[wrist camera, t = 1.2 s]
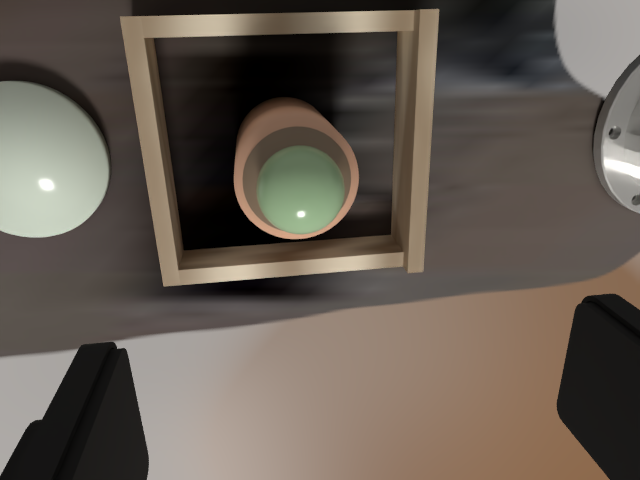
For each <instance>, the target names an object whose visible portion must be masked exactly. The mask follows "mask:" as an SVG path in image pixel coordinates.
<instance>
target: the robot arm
mask: <svg viewBox="0 0 640 480" xmlns="http://www.w3.org/2000/svg"><path fill="white" fill-rule="evenodd" d="M593 155H594V162H595V169H596V172H597V174H598V177H599V180H600V182H601V184H602V186H603V187H604V189H605V190H606V192H607V193H608V194H609V195H610V196H611V197H612V198H613V199H614V200H615V201H616V202H617V203H619V204H620V205H622V206H624V207H626V208H628V209H630V210H632V211H635V212H637V213H640V55H639V56H638V57H637V58H636V59H635V60H634V61H633V62H632V63H631V64H629V66H628V67H627V68H626V69H625V71H624V72H623V73H622V74H621V76H620V77H619V78H618V79H617V81H616V82H615V84H614V86H613V87H612V89H611V91H610V92H609V94H608V96H607V97H606V99H605V102H604V104H603V107H602V109H601V112H600V114H599V117H598V121H597V125H596V129H595V134H594V148H593ZM557 411H558V414H559V417H560V419H561V420H562V422H563V423H564V424H565V425H566V427H567V428H568V429H569V430H570V431H571V433H572V434H573V435H574V436H575V438H576V439H577V440H578V441H579V442H580V444H581V445H582V446H583V447H584V449H585V450H586V451H587V452H588V453H589V454H590V456H591V457H592V458H593V459H594V461H595V462H596V463H597V464H598V466H599V467H600V468H601V469H602V470H603V471H604V473H605V474H606V475H607V477H608V478H609V479H610V480H640V310H639V309H637V308H636V307H634V306H633V305H632V304H630V303H629V302H627V301H626V300H625V299H623V298H622V297H620V296H619V295H616V294H603V295H592V296H587V297H585V298H584V299H583V301H582V303H581V304H578V305H577V307H576V309H575V313H574V318H573V323H572V328H571V333H570V338H569V343H568V348H567V353H566V358H565V364H564V369H563V374H562V379H561V384H560V389H559V394H558V399H557ZM148 467H149V457H148V450H147V446H146V441H145V436H144V431H143V426H142V422H141V416H140V411H139V407H138V402H137V397H136V392H135V387H134V383H133V377H132V372H131V368H130V363H129V358H128V354H127V351H126V349H125V348H122V349H117V346H116V344H115V343H114V342H105V343H94V344H84V345H81V347H80V348H79V350H78V351H77V354H76V355H75V357H74V359H73V361H72V363H71V365H70V367H69V369H68V371H67V373H66V375H65V377H64V378H63V380H62V383H61V384H60V386H59V388H58V390H57V392H56V394H55V396H54V398H53V400H52V401H51V403H50V405H49V408H48V409H47V411H46V413H45V415H44V417H43V419H42V420H35V421H34V422H32V423H30V425H29V426H28V427H27V429H26V430H25V432H24V434H23V436H22V437H21V439H20V441H19V443H18V445H17V447H16V448H15V450H14V452H13V454H12V456H11V457H10V459H9V461H8V463H7V465H6V467H5V469H4V470H3V472H2V474H1V476H0V480H147V475H148Z"/></svg>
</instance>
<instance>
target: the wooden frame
mask: <svg viewBox="0 0 640 480" xmlns="http://www.w3.org/2000/svg"><path fill="white" fill-rule="evenodd" d="M438 19H439V9H420V10H401V11H355V12H310V13H264V14H219V15H173V16H128V17H120V21H121V27H122V33H123V39H124V45H125V51H126V58H127V64H128V70H129V76H130V82H131V88H132V94H133V101H134V107H135V113H136V119H137V125H138V131H139V138H140V144H141V150H142V156H143V162H144V168H145V175H146V181H147V187H148V193H149V199H150V205H151V211H152V218H153V224H154V230H155V236H156V242H157V248H158V255H159V261H160V267H161V273H162V279H163V285H164V286H175V285H187V284H199V283H211V282H223V281H234V280H246V279H258V278H270V277H282V276H294V275H306V274H318V273H329V272H341V271H353V270H365V269H377V268H389V267H401V266H403V267H404V268H405V270H406V271H407V273H415V272H423V266H424V249H425V233H426V216H427V200H428V184H429V167H430V151H431V134H432V118H433V101H434V85H435V69H436V52H437V36H438ZM383 31H398V35H397V66H396V97H395V128H394V159H393V189H392V220H391V235H381V236H368V237H355V238H342V239H328V240H315V241H302V242H289V243H276V244H263V245H250V246H237V247H224V248H211V249H197V250H184V249H183V241H182V234H181V227H180V220H179V213H178V206H177V199H176V192H175V185H174V177H173V170H172V163H171V156H170V149H169V142H168V135H167V128H166V121H165V113H164V106H163V99H162V92H161V85H160V78H159V71H158V64H157V57H156V49H155V42H154V38H161V37H198V36H235V35H272V34H309V33H346V32H383Z"/></svg>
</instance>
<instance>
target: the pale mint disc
mask: <svg viewBox="0 0 640 480" xmlns="http://www.w3.org/2000/svg"><path fill="white" fill-rule="evenodd" d="M110 178H111V159H110V153H109V150H108V146H107V143H106V141H105V138H104V136H103V134H102V132H101V131H100V129H99V127H98V126H97V124H96V123H95V121H94V120H93V119H92V118H91V116H90V115H89V114H88V113H87V112H86V111H85V110H84V109H83V108H82V107H81V106H80V105H78V104H77V103H76V102H75V101H73V100H72V99H70V98H69V97H68V96H66V95H64V94H62V93H61V92H59V91H57V90H55V89H52V88H50V87H47V86H45V85H41V84H38V83H34V82H28V81H18V80H9V81H0V231H3V232H6V233H9V234H13V235H18V236H24V237H48V236H54V235H58V234H62V233H65V232H67V231H70V230H72V229H74V228H75V227H77V226H79V225H80V224H82V223H83V222H84V221H86V220H87V219H88V218H89V217H90V216H91V215H92V214H93V213H94V211H95V210H96V209H97V208H98V206H99V205H100V204H101V202H102V201H103V199H104V197H105V195H106V193H107V190H108V187H109V184H110Z"/></svg>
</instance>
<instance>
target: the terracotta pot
mask: <svg viewBox="0 0 640 480" xmlns="http://www.w3.org/2000/svg"><path fill="white" fill-rule="evenodd" d="M358 182H359V172H358V165H357V161H356V158H355V155H354V153H353V151H352V149H351V147H350V145H349V144H348V143H347V141H346V140H345V139H344V138H343V137H342V135H341V134H340V133H339V132H338V131H337V130H336V129H335V128H334V127H333V126H332V125H331V124H330V123H329V122H328V121H327V120H326V118H325V117H324V116H323V115H322V114H321V113H320V112H319V111H318V110H317V109H316V108H314V107H313V106H312V105H310V104H309V103H307V102H305V101H303V100H300V99H297V98H292V97H277V98H272V99H269V100H266V101H264V102H262V103H260V104H258V105H257V106H256V107H254V108H253V109H252V110H251V111H250V112H249V113H248V114H247V115H246V117H245V118H244V120H243V121H242V123H241V125H240V128H239V131H238V135H237V141H236V155H235V169H234V187H235V193H236V197H237V200H238V202H239V204H240V207H241V208H242V210H243V212H244V213H245V215H246V216H247V217H248V218H249V219H250V221H252V222H253V223H254V224H255V225H256V226H257V227H259V228H260V229H262V230H263V231H265V232H267V233H269V234H271V235H274V236H277V237H281V238H286V239H304V238H309V237H313V236H316V235H319V234H321V233H324V232H325V231H327V230H329V229H331V228H332V227H333V226H335V225H336V224H337V223H338V222H339V221H340V220H341V219H342V218H343V217H344V216H345V215H346V214H347V212H348V211H349V209H350V208H351V206H352V204H353V202H354V199H355V196H356V193H357V189H358Z"/></svg>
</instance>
